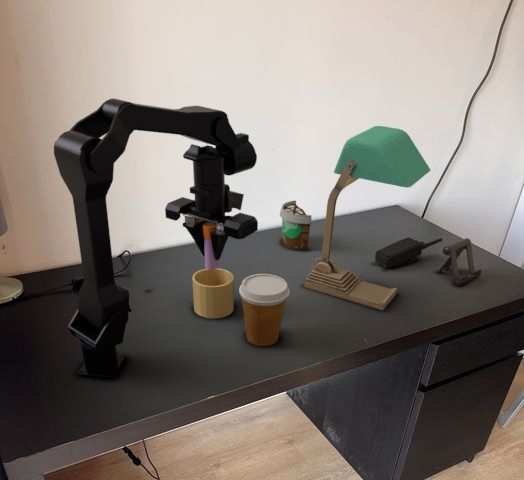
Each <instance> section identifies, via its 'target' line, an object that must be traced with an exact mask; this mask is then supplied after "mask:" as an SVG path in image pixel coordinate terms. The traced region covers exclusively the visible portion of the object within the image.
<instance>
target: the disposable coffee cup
mask: <svg viewBox="0 0 524 480" xmlns="http://www.w3.org/2000/svg"><path fill="white" fill-rule="evenodd" d="M238 292H239V295H240V297H241V303H242V309H243V310H242V311H243V318H244V324H245V325H244V326H245V334H246V340H247V341H248V342H249V343H250V344H253V345H254V346H257V347H258V346H259V347H260V346H261V347H268V346H272V345H274V344H276V343H277V342H278V340H279V336H280V331H281V326H282V323H283V322H282V321H283V317H284V312H285V311H284V310H285V307H286V303H287V299H288V297H289V296H290V288H289V286H288V283H287V281H286V280H285V279H284V278H283V277H281V276H279V275H275V274H271V273H255V274H252V275H248V276H247V277H245V278H244V279H243V280H242V281H241V284H240V286H239V289H238Z"/></svg>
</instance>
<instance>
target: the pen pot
mask: <svg viewBox="0 0 524 480" xmlns="http://www.w3.org/2000/svg"><path fill="white" fill-rule="evenodd" d="M191 280H192V281H191V282H192V300H193V301H192V302H193V303H192V304H193V311H194V313H195V314H197V315H198V316H199V317H201V318H206V319H222V318H225V317H228V316H230V315H231V314H232V313H233V311H234V310H235V277H234V274H233V273H232V272H231V271H229V270H227V269H224V268H221V267H218V268H217V269H207V268H203V269H200V270H198V271H196V272H194V274H193V275H192V276H191Z"/></svg>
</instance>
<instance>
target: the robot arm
mask: <svg viewBox="0 0 524 480" xmlns="http://www.w3.org/2000/svg"><path fill="white" fill-rule="evenodd" d="M134 131H140V132H141V131H142V132H150V133H159V134H160V133H161V134H169V135H177V136H178V135H179V136H181V137H185V138H187V139H189V140H192V141H195V142H200V143H204V144H207V145H204V146H200V145H197V144H193V143H191V144H190V146H189V148H188V149H187V150H186V151H185V152H184V153H183V155H182V157H183V159H185V160H189V161H192V166H193V167H192V170H193V186H191V187H189V193H190V194H191V195H194V199H191V198H187V197H179V198H176V199H174V200H172V201H170V202H167V204H166V206H165V207H164V212H165V218H166V219H168V220H171V221H175V222H176V221H178V220H179V219H180V218H181V216H182V215H183V217H184V222H183V223H182V227H183V228H185V229H186V230H187V232H188V233H189V235H190V236H191V238H192V239H193V241H194V243H195V244H196V246H197V248H198V249H199V250H200V254H201V255H202V256H203V257H205V251H204V237H203V224H204V223H207V222H212V223H215V224H217V227H216V230H214V231H212V232H210V237H211V242H212V248H213V253H214V257H215V260H221V257H222V254H223V252H224V249H225V246H226V243H227V241H228V239H229V237H230V238H233V239H235V240H236V239H237V240H243V239H246V238H247V237H249V236H251V235H252V234H254V233H256V232H258V229H259V222H258V219H257V218H256V216H254V215H250V214H247V213H243V212H239V213H236V214H234V215H226V213H228V214H229V213H231V212H233V209H236V210H238V211H241V210H242V206H243V205H242V204H243V201H244V196H245V194H244V193H241V192H236V191H234V190H233V191H232V190H231V188H230V185H229V184H226V183H225V182H226V181H225V178H226V176H234V175H236V174H239V173H242V172H245V171H249V170H252V169H253V168H255V166H256V163H257V160H258V155H257V152H256V149H255V147H254V145H253V144H252V142H250V135H249V134H247V133H243V132H239V133H235V130H234V128H233V127H232V125H231V123H230V121H229V117H228V113H227V112H226V111H223V110H219V109H215V108H212V107H211V108H210V107H207V106H206V107H205V106H201V105H190V106H189V105H188V106H182V107H180V108H168V107H161V106H156V105H149V104H141V103H135V102H131V101H127V100H123V99H118V98H113V97H112V98H109V99H107V100H105V101H104V102H103V103H101V105H100V106H99V107H98V108H97V109H96V110H94V111H93V112H91V113H90V114H88V115H86V116H85V117H83V118H81V119H80V120H78V121H76V123H75V124H73V126H72V127H71V128H70V129H69V130H66V131H64V132H62V133H61V134H60V135H59V136H58V138H57V140H56V141H54V145H53V156H54V159H55V163H56V165H57V168H58V172H59V175H60V177H61V179H62V181H63V183H64V184H65V186H66V188H67V189H68V192H69V193H70V195H71V199H72V203H73V209H74V210H73V211H74V217H75V225H76V232H77V238H78V239H77V240H78V245H79V253H80V260H81V268H82V274H83V283H82V284H81V287H80V289H79V292H78V295H77V310H76V311H75V312H74V315H73V316H72V318H71V320H70V321H69V323H68V324H67V328H66V329H68V331H69V332H70V334H71V335H72V336H74V337H76V338H78V339H79V340H80V347H81V351H82V357H83V362H84V363H83V364H82V366H81V368H80V369H79V370H78V375H79V376H81V377H90V378H99V379H100V378H101V379H110V380H111V379H115V377H116V375H117V373H118V372H119V370H120V368H121V366H122V365H123V364H124V361H125V359H126V357H125V355H122V354H118V353H117V346H119V345H120V344H122V343H123V342H124V337H125V331H126V326H127V324H128V321H129V313H131V312H132V309H131V307H130V292H129V290H128V289H126V288H124V287H123V286H121V285H119V284H117V282H116V280H115V272H114V262H113V253H112V244H111V235H110V234H111V233H110V225H109V213H108V205H107V195H108V193H109V191H110V188H111V186H112V184H113V181H114V173H115V171H114V169H115V163H116V162H117V161H118V160H119V158H120V157H121V156H122V155H123V154H124V153H125V151H126V148H127V145H128V142H129V139H130V137H131V135H132V134H133V132H134Z"/></svg>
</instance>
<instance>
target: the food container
mask: <svg viewBox="0 0 524 480" xmlns="http://www.w3.org/2000/svg"><path fill="white" fill-rule="evenodd" d="M279 216H280V218H281V226H282V227H281V229H282V230H281V231H282V232H281V233H282V245H283V246H284V247H285V248H287V249H290V250H293V251H307V250H308V246H309V245H308V244H309V238H310V230H311V224H312V215H311V214H307V213H306V212H305V210H304V209H303V208H301V207H299V206H298V204H297V200H290V201H286V202H285V203H283V204H282V206H281V208H280V211H279Z"/></svg>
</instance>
